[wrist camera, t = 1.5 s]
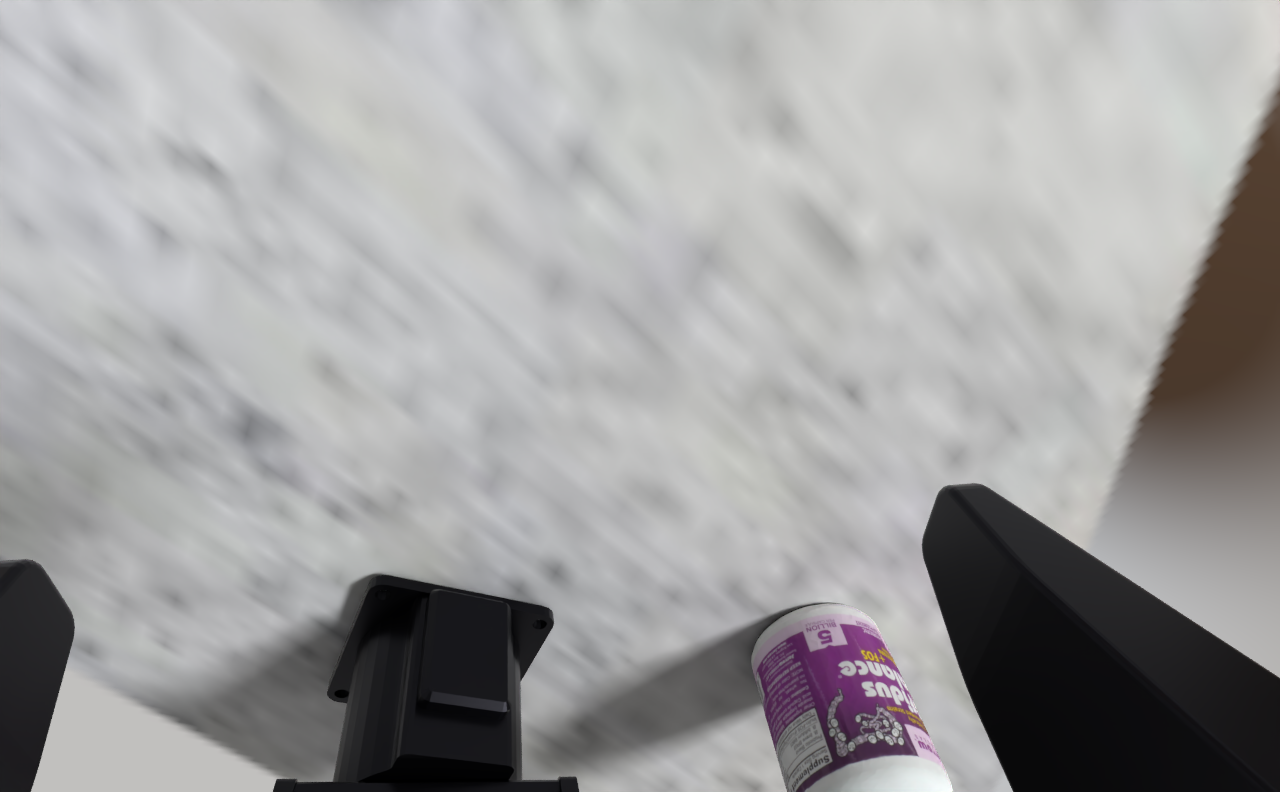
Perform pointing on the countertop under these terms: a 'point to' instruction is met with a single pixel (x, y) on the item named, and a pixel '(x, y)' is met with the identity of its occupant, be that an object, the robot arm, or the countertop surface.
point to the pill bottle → (841, 706)
